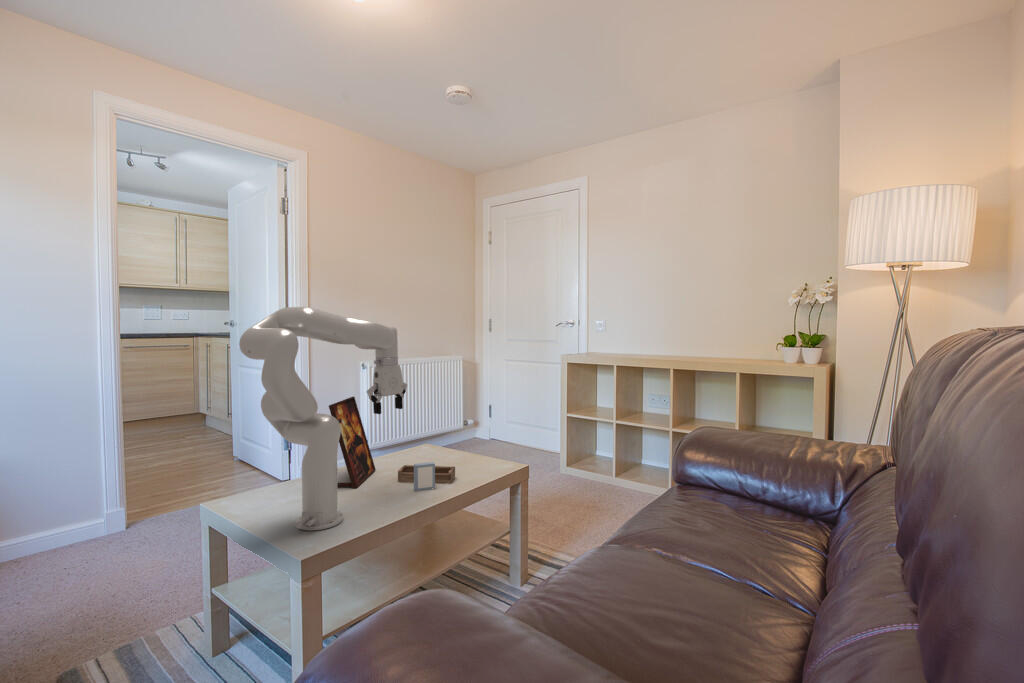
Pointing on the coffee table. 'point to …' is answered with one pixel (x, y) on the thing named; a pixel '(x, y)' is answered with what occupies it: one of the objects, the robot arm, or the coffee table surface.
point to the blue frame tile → (424, 476)
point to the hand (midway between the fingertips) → (388, 411)
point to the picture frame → (353, 442)
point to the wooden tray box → (441, 474)
